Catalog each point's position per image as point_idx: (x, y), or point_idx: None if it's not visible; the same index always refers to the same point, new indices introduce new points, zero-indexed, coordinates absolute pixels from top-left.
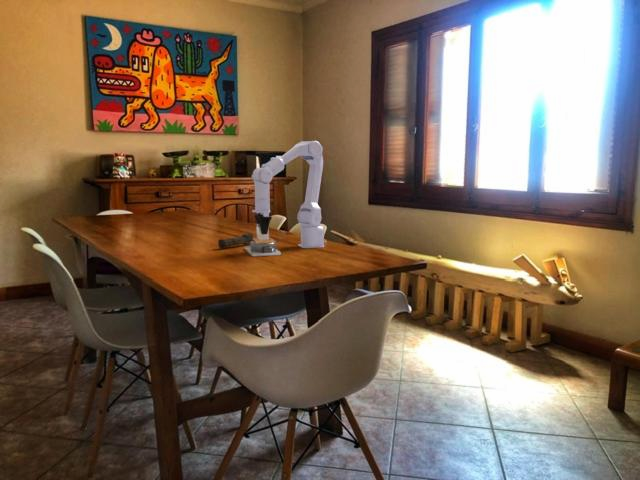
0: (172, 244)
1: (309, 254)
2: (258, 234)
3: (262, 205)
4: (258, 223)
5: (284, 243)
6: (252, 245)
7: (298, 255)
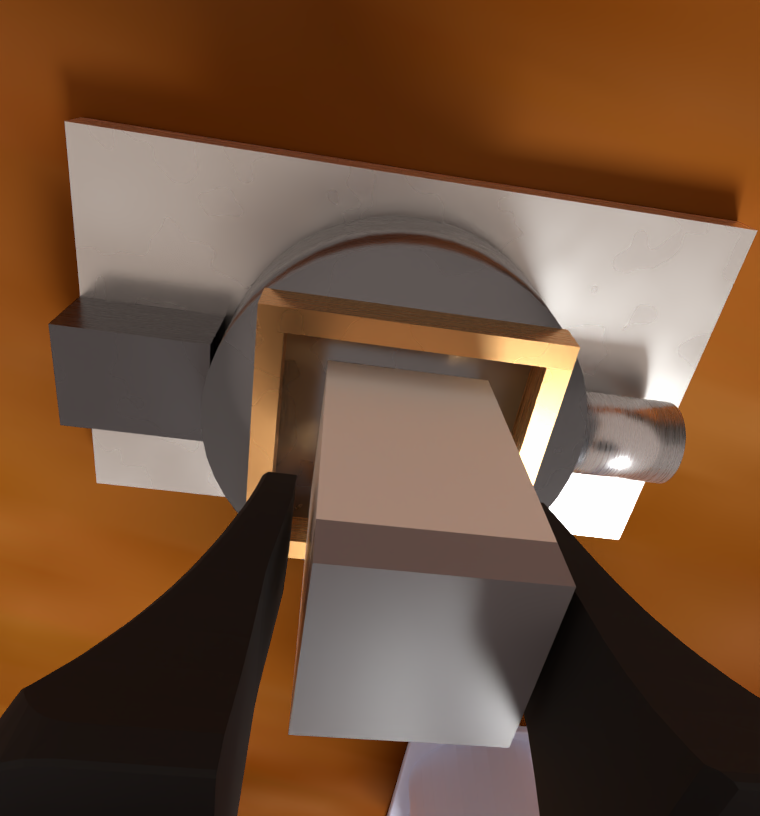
0: None
1: None
2: (346, 429)
3: None
4: (581, 634)
5: (756, 684)
6: (345, 243)
7: (36, 584)
